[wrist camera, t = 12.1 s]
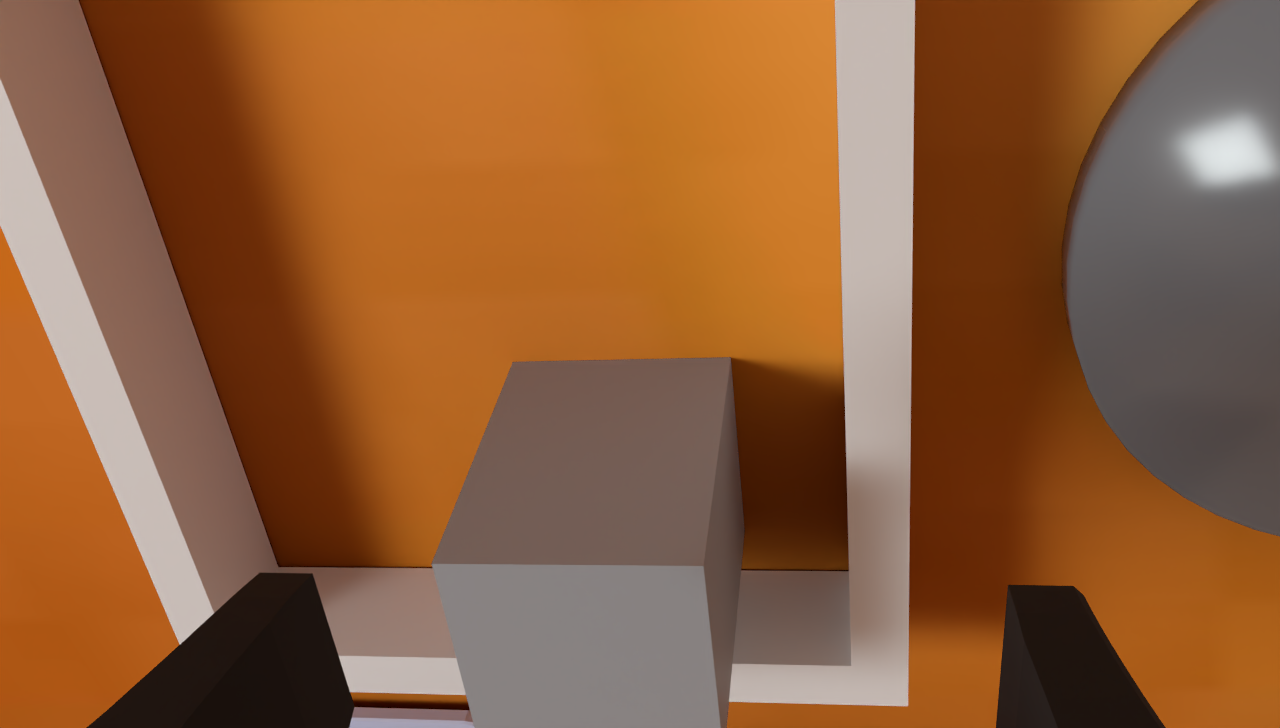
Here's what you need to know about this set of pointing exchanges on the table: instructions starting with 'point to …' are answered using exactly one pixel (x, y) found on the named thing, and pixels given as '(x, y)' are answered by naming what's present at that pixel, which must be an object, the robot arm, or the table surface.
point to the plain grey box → (599, 548)
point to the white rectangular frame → (409, 597)
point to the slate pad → (1188, 261)
